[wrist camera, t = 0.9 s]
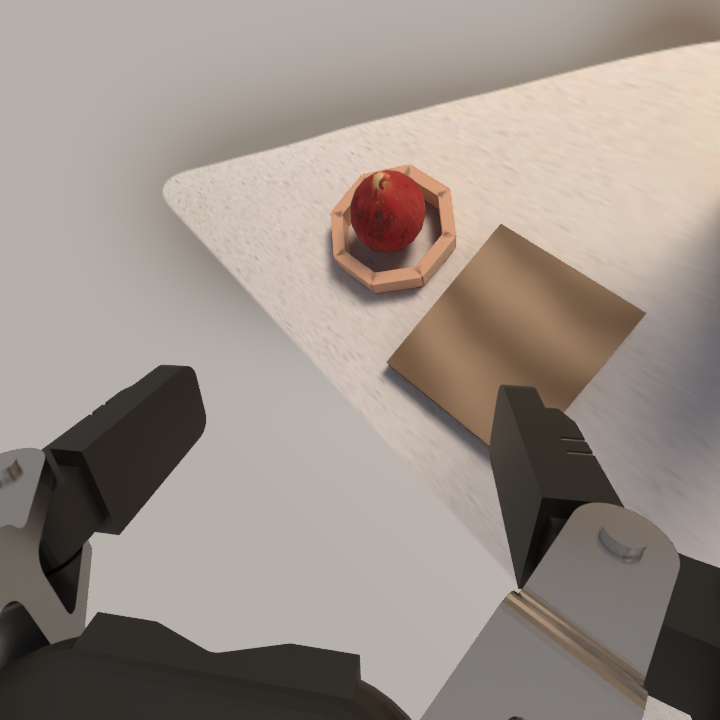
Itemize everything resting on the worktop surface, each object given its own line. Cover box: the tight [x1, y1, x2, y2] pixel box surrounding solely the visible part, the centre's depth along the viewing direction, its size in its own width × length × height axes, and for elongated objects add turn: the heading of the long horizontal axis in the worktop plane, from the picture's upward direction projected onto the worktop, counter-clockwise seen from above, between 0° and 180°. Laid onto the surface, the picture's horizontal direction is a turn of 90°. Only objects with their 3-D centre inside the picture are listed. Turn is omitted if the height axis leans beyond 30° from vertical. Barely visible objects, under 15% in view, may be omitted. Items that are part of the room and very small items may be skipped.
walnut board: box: [387, 224, 646, 447], centre depth 29 cm, size 14×12×2 cm
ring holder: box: [331, 165, 456, 293], centre depth 32 cm, size 10×10×2 cm
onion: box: [350, 170, 426, 253], centre depth 29 cm, size 6×6×8 cm
